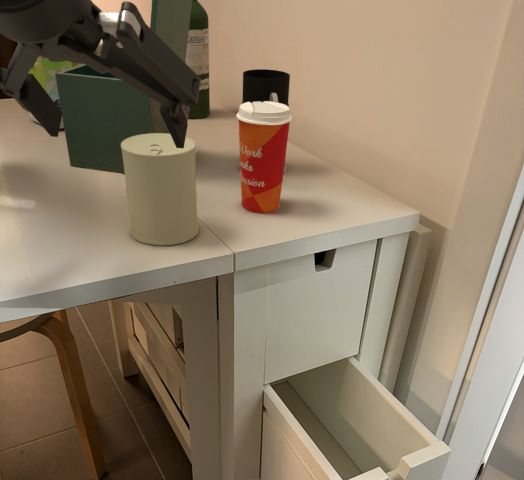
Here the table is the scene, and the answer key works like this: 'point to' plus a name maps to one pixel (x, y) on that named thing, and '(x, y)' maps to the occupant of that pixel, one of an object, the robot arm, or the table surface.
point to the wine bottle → (199, 58)
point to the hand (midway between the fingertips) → (118, 130)
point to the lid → (172, 23)
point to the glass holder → (266, 88)
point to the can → (160, 189)
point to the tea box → (53, 76)
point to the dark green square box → (103, 116)
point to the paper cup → (262, 153)
